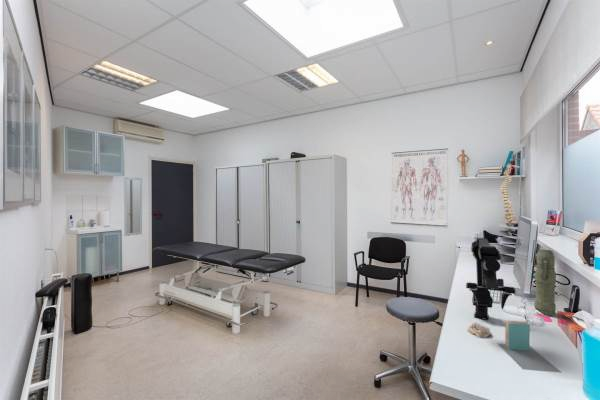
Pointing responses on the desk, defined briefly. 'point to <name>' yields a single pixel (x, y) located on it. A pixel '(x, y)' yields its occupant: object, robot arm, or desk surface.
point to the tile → (517, 335)
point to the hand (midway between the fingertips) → (490, 307)
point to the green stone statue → (545, 283)
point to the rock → (479, 330)
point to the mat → (529, 359)
